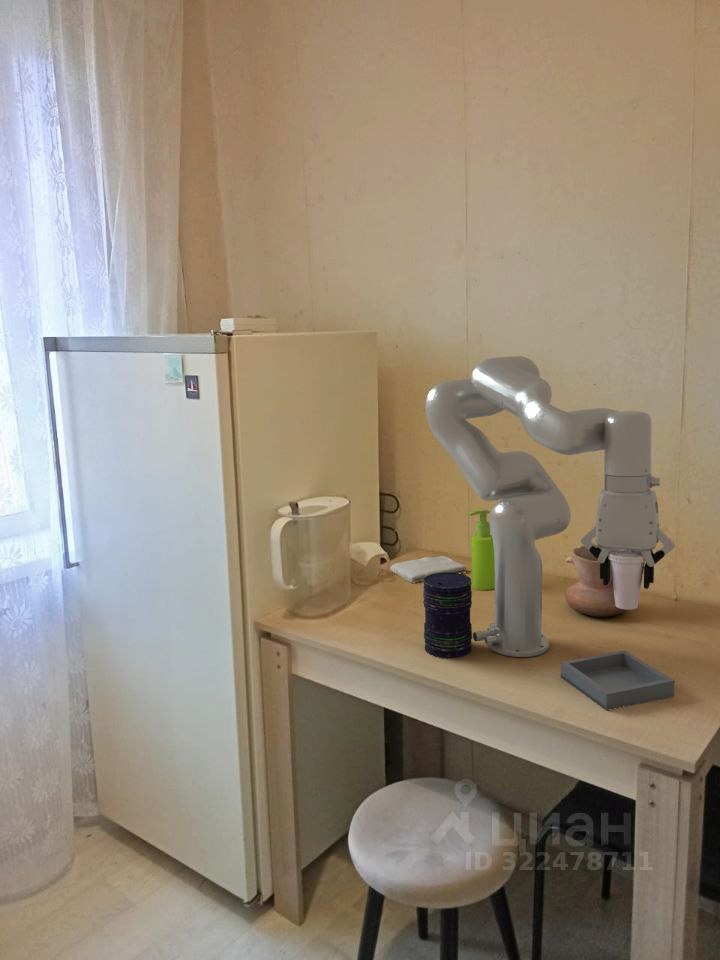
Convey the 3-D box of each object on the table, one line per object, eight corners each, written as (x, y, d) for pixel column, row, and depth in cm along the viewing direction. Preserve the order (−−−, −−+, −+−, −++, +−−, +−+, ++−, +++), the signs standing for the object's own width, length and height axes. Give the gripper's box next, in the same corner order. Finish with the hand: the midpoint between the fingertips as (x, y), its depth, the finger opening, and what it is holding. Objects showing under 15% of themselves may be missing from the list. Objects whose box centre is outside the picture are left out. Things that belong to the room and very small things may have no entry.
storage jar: (441, 635, 167) (440, 569, 165) (481, 646, 161) (481, 577, 158) (414, 651, 160) (413, 582, 157) (455, 663, 154) (454, 591, 151)
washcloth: (469, 574, 209) (468, 563, 209) (411, 586, 202) (411, 574, 201) (444, 563, 220) (444, 552, 219) (389, 574, 212) (389, 563, 211)
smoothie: (651, 611, 134) (653, 532, 131) (613, 612, 134) (615, 533, 131) (638, 599, 140) (640, 523, 138) (602, 600, 140) (603, 525, 138)
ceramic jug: (547, 609, 181) (549, 550, 178) (583, 593, 190) (585, 537, 187) (617, 631, 168) (620, 568, 164) (652, 613, 177) (655, 553, 174)
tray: (606, 710, 133) (606, 694, 133) (560, 677, 146) (561, 662, 146) (673, 696, 137) (674, 680, 137) (623, 664, 150) (624, 650, 150)
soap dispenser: (464, 585, 199) (463, 509, 196) (488, 581, 201) (488, 506, 198) (474, 592, 194) (473, 514, 190) (499, 588, 196) (499, 511, 192)
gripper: (683, 481, 133) (681, 583, 136) (579, 478, 140) (580, 574, 143) (680, 489, 126) (678, 596, 129) (571, 486, 134) (572, 586, 137)
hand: (626, 583), depth 136 cm, fingers closed on smoothie, 6 cm apart
